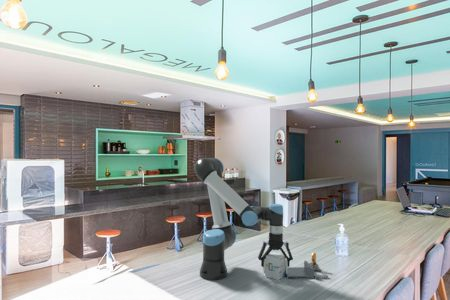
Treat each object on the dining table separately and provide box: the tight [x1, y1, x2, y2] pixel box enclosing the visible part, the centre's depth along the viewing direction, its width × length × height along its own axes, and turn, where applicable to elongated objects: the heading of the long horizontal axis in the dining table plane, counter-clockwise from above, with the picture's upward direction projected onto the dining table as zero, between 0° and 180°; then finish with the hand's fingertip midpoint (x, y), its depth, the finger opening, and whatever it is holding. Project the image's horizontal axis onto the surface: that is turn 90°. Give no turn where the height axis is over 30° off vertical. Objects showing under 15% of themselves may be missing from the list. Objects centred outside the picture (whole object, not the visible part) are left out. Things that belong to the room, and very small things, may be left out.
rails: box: [314, 266, 329, 280], centre depth 172 cm, size 7×16×2 cm, turn 3°
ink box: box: [264, 251, 286, 281], centre depth 168 cm, size 8×8×12 cm
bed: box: [285, 260, 315, 280], centre depth 171 cm, size 14×13×5 cm
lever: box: [308, 252, 319, 272], centre depth 178 cm, size 4×4×9 cm
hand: (275, 272), depth 168 cm, fingers closed on ink box, 12 cm apart
